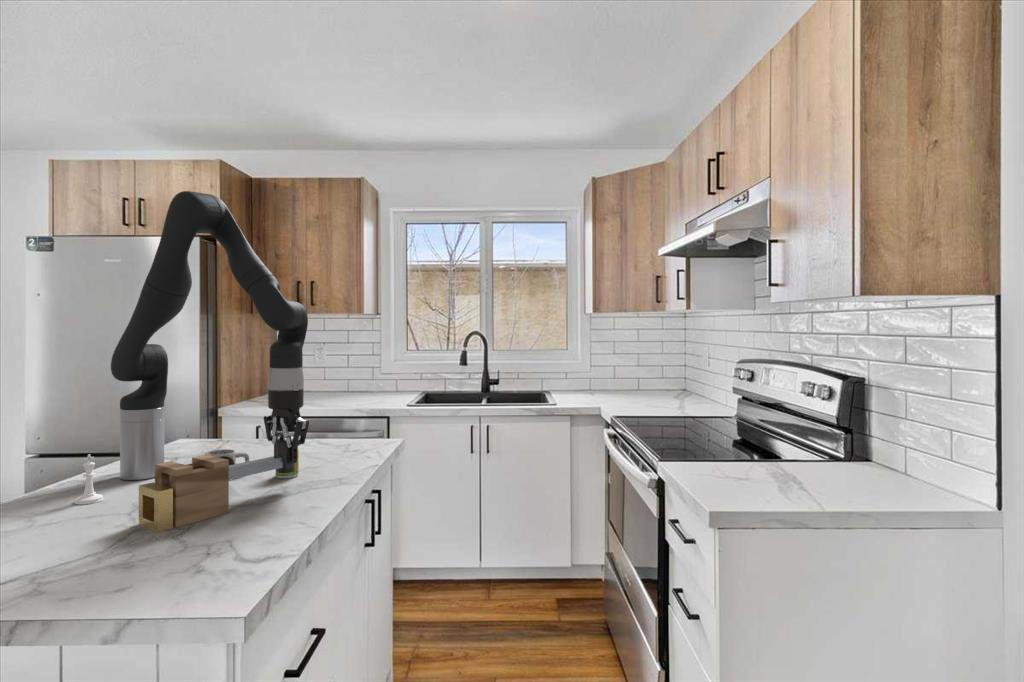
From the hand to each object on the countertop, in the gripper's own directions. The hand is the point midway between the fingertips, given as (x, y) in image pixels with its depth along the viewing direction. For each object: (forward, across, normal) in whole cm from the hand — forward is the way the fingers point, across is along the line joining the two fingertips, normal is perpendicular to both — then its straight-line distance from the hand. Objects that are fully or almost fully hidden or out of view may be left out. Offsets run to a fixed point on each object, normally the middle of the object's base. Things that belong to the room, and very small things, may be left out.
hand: (285, 461), depth 125 cm
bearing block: (+7, 0, -21) cm, 22 cm away
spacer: (+7, 0, -28) cm, 28 cm away
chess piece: (+7, -28, -28) cm, 40 cm away
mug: (+7, -22, -1) cm, 23 cm away
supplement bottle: (+7, -11, +8) cm, 15 cm away
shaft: (+2, 0, -11) cm, 11 cm away
